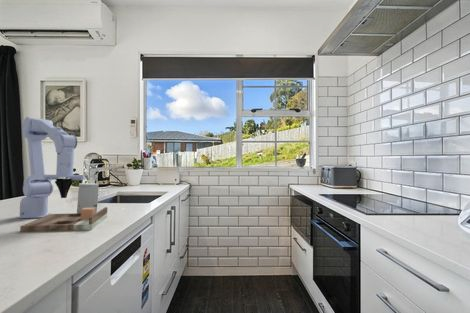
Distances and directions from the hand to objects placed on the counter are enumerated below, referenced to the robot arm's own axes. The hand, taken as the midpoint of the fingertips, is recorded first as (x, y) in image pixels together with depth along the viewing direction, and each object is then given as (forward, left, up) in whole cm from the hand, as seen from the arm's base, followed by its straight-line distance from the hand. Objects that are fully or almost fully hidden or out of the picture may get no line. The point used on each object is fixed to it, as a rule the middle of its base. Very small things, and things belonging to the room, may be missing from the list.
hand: (63, 197), depth 107 cm
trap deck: (+3, -2, -10) cm, 11 cm away
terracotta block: (+10, -2, -8) cm, 13 cm away
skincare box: (+5, +14, -11) cm, 18 cm away
